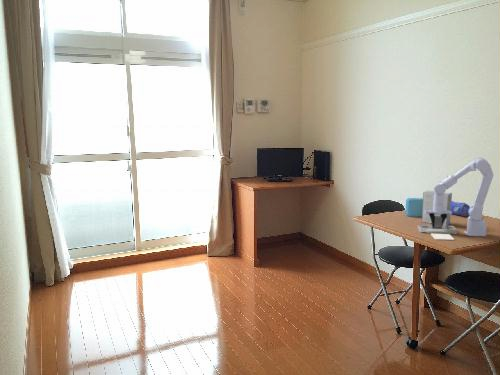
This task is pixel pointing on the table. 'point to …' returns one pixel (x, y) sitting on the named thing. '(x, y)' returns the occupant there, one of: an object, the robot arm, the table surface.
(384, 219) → the table surface
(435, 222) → the square block
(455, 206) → the pencil case
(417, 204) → the data package
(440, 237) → the mat
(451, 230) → the grey rail
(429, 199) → the hard drive box
